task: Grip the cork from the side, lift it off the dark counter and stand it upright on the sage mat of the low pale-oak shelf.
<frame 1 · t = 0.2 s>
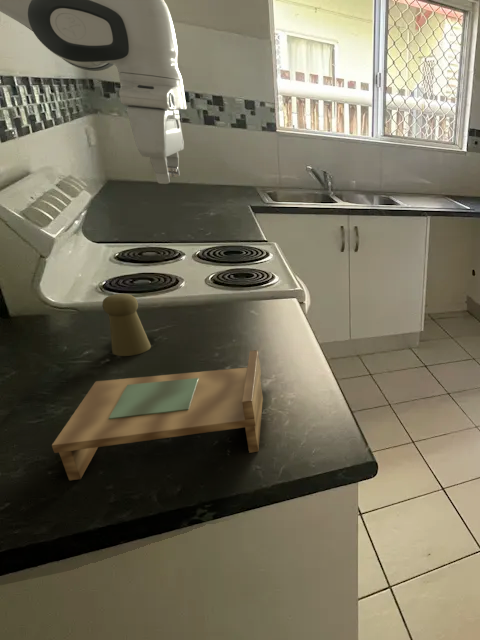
hand: (169, 179, 87), 32 cm above the worktop, tool pointing down, fingers open, 8 cm apart
shelf: (180, 433, 71), on the worktop
cork: (132, 350, 92), on the worktop
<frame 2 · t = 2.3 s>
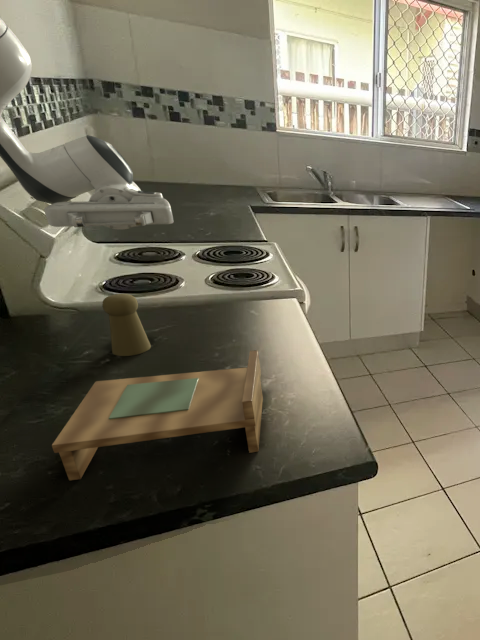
hand: (109, 222, 92), 22 cm above the worktop, tool horizontal, fingers open, 8 cm apart
nothing on the worktop moved.
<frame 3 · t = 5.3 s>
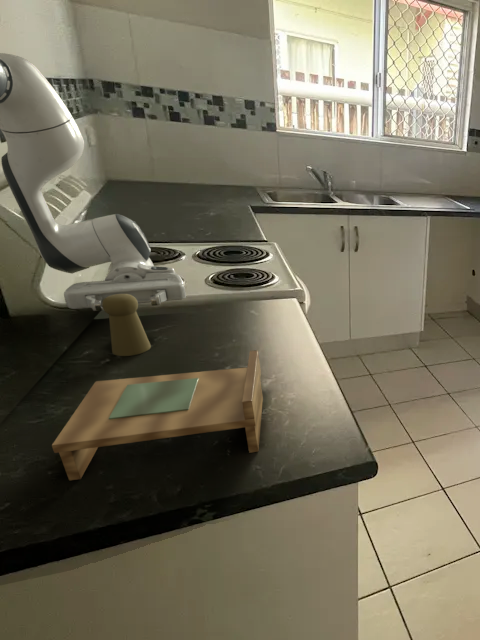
hand: (126, 304, 96), 6 cm above the worktop, tool horizontal, fingers open, 8 cm apart
nothing on the worktop moved.
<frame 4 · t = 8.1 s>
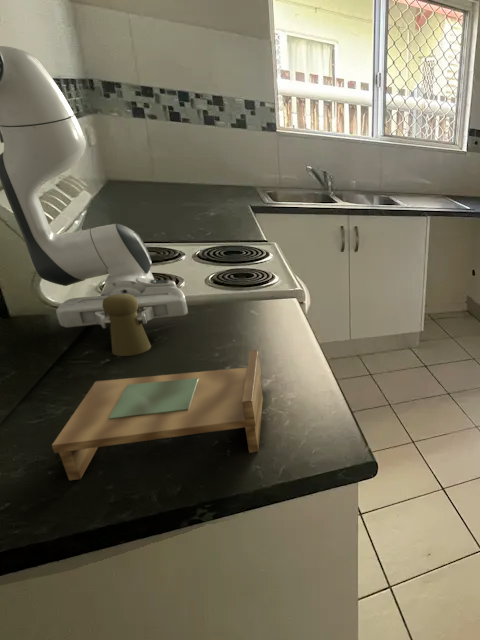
hand: (124, 322, 89), 6 cm above the worktop, tool horizontal, fingers closed on cork, 4 cm apart
cork: (132, 349, 92), on the worktop, touching gripper
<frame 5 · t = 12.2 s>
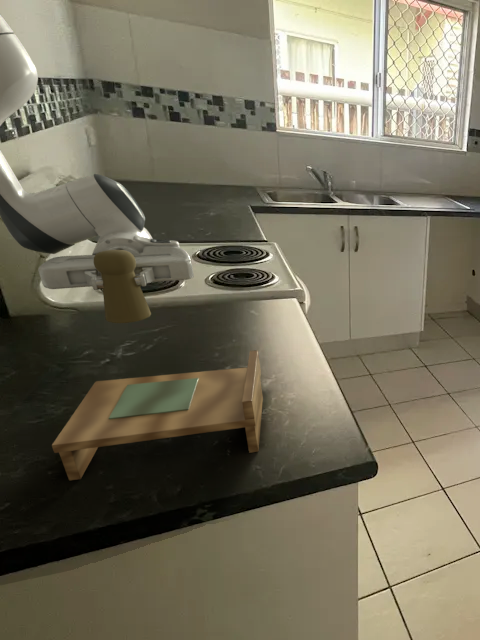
hand: (119, 283, 75), 18 cm above the worktop, tool horizontal, fingers closed on cork, 4 cm apart
cork: (129, 317, 79), point 12 cm above the worktop, touching gripper
when the fingers open (12 cm above the worktop, at t = 16.9 s): cork stays where it is, resting on shelf.
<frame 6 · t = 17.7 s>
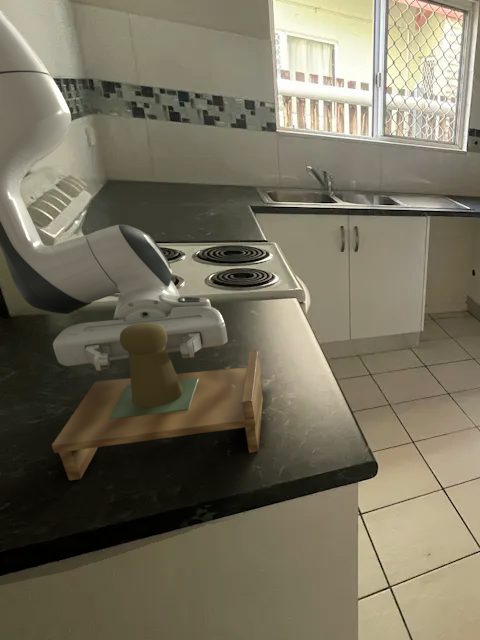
hand: (146, 359, 65), 13 cm above the worktop, tool horizontal, fingers open, 8 cm apart
cork: (158, 396, 68), point 6 cm above the worktop, touching shelf
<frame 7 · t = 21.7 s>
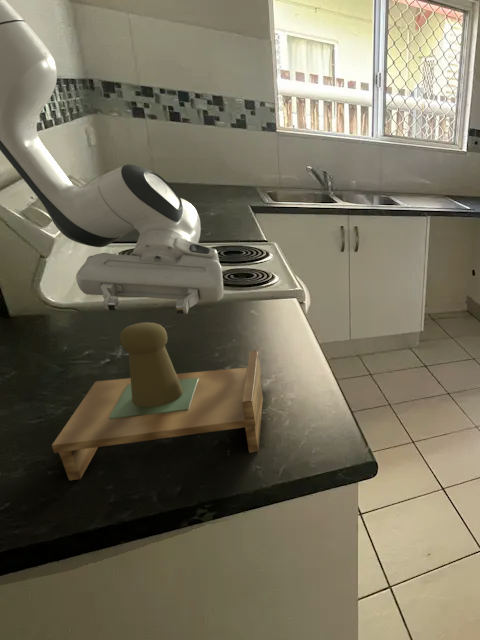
hand: (146, 309, 77), 14 cm above the worktop, tool tilted 70°, fingers open, 8 cm apart
nothing on the worktop moved.
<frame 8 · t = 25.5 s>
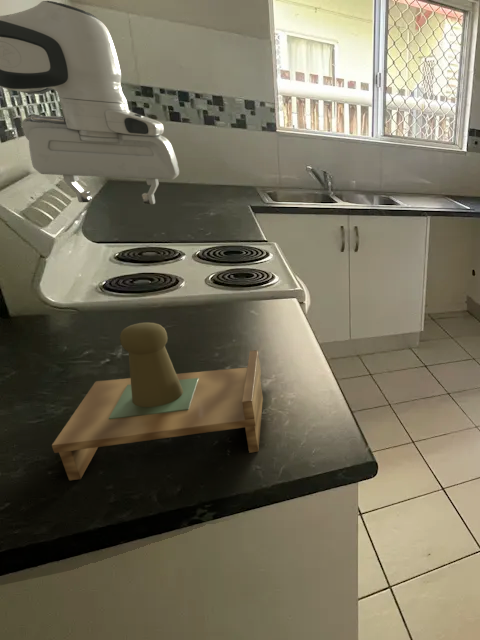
hand: (118, 202, 86), 27 cm above the worktop, tool pointing down, fingers open, 8 cm apart
nothing on the worktop moved.
at the end: cork inside the target area on the shelf (0.1 cm from its centre), point 6.0 cm above the shelf's base; cork tilted 0°; the gripper is holding nothing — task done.
